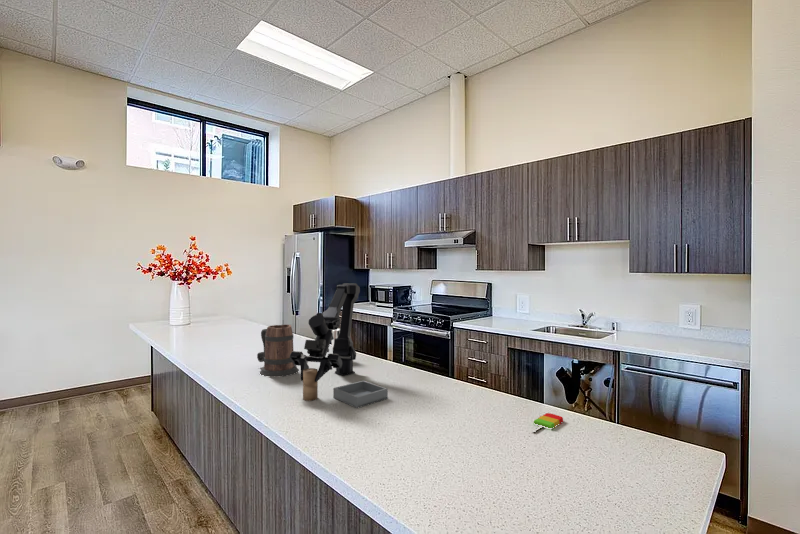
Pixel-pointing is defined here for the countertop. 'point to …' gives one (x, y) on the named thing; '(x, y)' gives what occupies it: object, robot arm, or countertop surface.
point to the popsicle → (549, 420)
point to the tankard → (277, 351)
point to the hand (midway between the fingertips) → (308, 380)
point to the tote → (360, 393)
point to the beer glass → (335, 335)
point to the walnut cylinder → (310, 384)
